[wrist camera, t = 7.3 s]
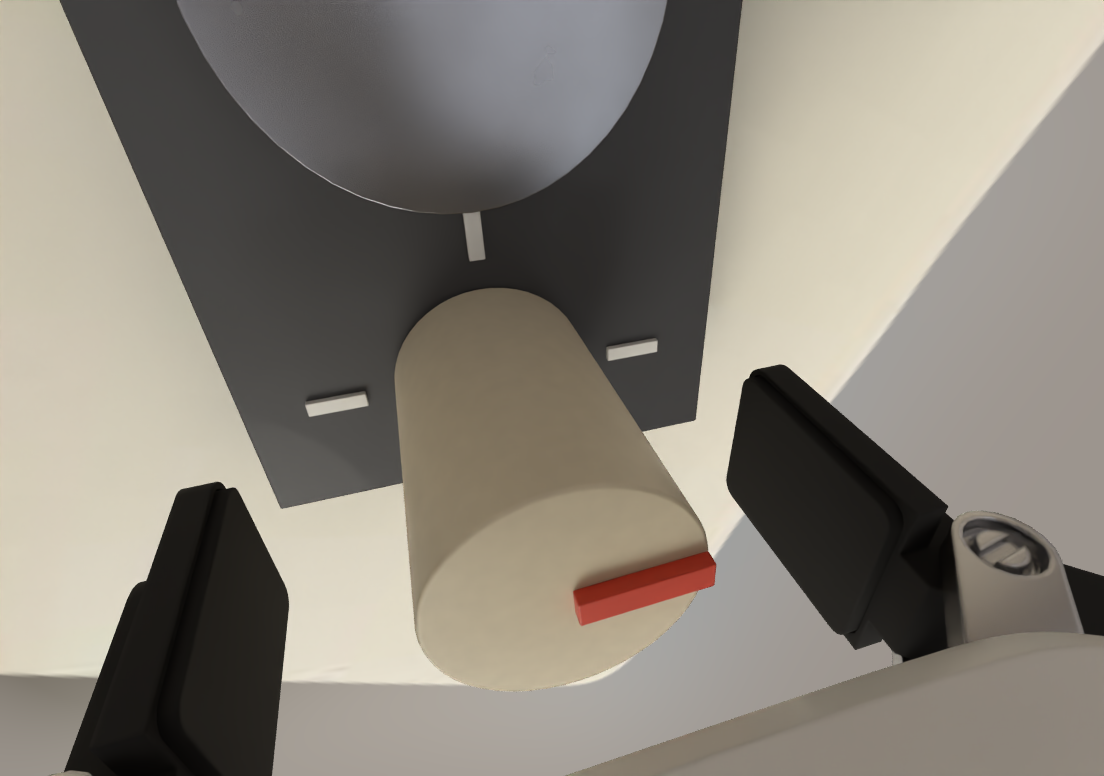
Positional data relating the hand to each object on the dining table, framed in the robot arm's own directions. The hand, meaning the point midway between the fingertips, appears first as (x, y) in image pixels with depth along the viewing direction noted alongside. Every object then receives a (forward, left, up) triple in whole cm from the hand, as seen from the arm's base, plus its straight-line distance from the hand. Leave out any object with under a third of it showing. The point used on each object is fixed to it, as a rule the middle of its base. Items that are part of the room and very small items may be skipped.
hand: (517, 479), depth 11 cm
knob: (0, 0, -5) cm, 5 cm away
